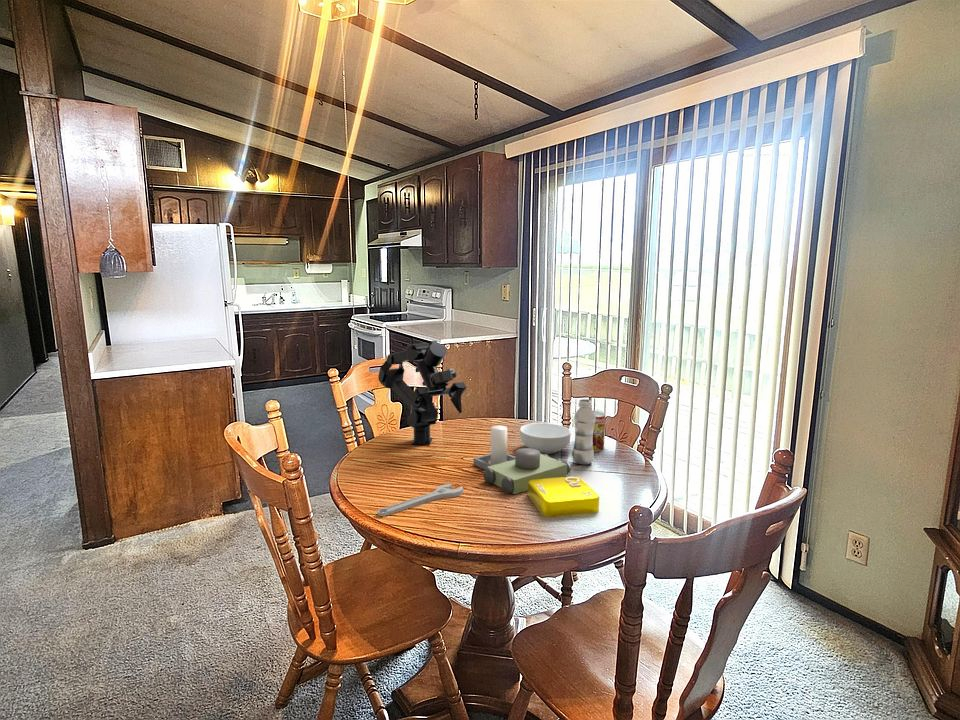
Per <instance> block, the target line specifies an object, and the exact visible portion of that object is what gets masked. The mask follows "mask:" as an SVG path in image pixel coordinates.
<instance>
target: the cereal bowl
mask: <svg viewBox="0 0 960 720" xmlns="http://www.w3.org/2000/svg"><path fill="white" fill-rule="evenodd" d="M519 438H520V441H521V443H522V444H523V445H524V446H525V447H526V448H531V449H536V450H538V451H539V452H540V454H543V453H549V454H554V453H556V452H558V451H561V450H563V449H565V448H566V447H567V446H568V444H570V440H571V430H570V429H569V428H568V427H566V426H563V425H559V424H555V423H548V422H547V423H546V422H532V423H528V424H527V423H526V424H524V425H522V426H521V427H520V429H519ZM555 451H556V452H555ZM553 452H554V453H553Z"/></svg>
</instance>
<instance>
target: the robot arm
mask: <svg viewBox="0 0 960 720" xmlns="http://www.w3.org/2000/svg"><path fill="white" fill-rule="evenodd" d="M447 353H448V350H447V348H446V346H444V345H442V344H441V343H439V342H437V340H431V341H430V342H429V343H428V342H424V343H412V344H409V345H408V346H406V349H405V350H402V351H398V352H395V353H389V354H387V356H386V359H385V361H384V362H383V364H382V365H380V369H379V371H378V375H377V377H378V379H377V380H378V382H379V383H380V384H381V385H382V386H383V387H384V388H387V389H390V390H393V392H395V394H396V395H397V396H398V397H399V399H401V401H403V402H404V403H405V405H406V406H407V407H408V408H409V409H410V414H409V415H408V417H407V419H406V420H407V421H406V422H407V426H409V427H411V428H413V439H412V441H411V442H410V443H411V445H427V446H428V445H429V446H430V445H431V444H432V441H433V439H434V438H433V437H431V425H436V423H437V420H438V416H439V411H438V409H437V406H436V405H435V403H434V402H432V397H438V396H443V395H444V396H445V395H448V396H449V397H450V401H451V403H452V404H453V406H454V408H455V409H456V410H457V412H458V413H459V414H462V412H463V407H462V395H463V394H464V392H466V390H467V388H468V387H467V384H466V383H465V382H464V381H457V382H453V383H452V384H451V386H450V387H448V386H449V384H450V383H449V382H450V381H451V382H452V381H453V380H454V379H456V377H457V373H456V370H455V369H454V368H453V367H452V368H448V369H446V370H442V371H439V370H438V368H437V367H439V366H440V364H441V363H442V361H443V360H444V358H445V356H446V355H447ZM416 361H417V362H418V363H417V364H416V366H415V373H419V374H420V377H421V380H423V381H422V386H423V387H417V388H414V390H413V389H412V388H411V387H410V386H409V385H408V384H407V382H405V381H404V373H405V369H404V366H403V363H406V362H416ZM393 365H398V367H396V368H392V366H393Z"/></svg>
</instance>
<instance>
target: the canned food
mask: <svg viewBox="0 0 960 720" xmlns="http://www.w3.org/2000/svg"><path fill="white" fill-rule="evenodd" d="M592 411H593V412H594V414H595V417H596V419H595V425H594V430H593V451H594V453H598V451H599V452H602V451H604V450H605V449H604V448H605V432H606V431H605V429H606V413H605V412H603V411H599V410H592Z"/></svg>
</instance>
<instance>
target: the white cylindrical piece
mask: <svg viewBox="0 0 960 720" xmlns="http://www.w3.org/2000/svg"><path fill="white" fill-rule="evenodd" d="M490 454H491V460H490V461H489V462H487V463H488V464H490V465H496V464H500V463H504V462H507V454H508V427H507V426H506V425H505V426H504V425H492V426H491V427H490Z"/></svg>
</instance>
